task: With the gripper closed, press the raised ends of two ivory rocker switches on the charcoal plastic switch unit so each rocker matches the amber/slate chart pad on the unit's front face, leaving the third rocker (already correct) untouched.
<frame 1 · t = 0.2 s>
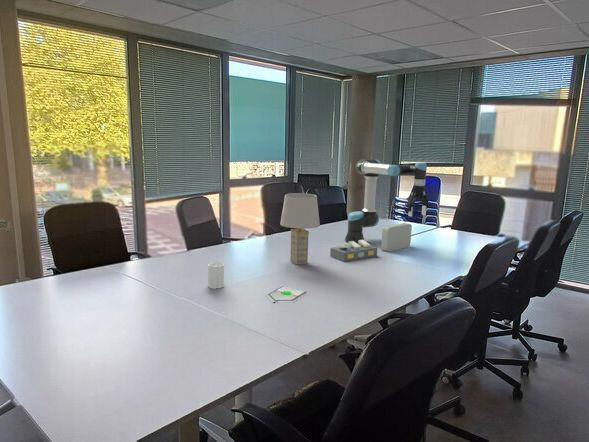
hand: (416, 215, 289), 28 cm above the table, fingers open, 13 cm apart
switch unit: (353, 256, 284), on the table
rounded white slab: (395, 248, 309), on the table
rocker c: (364, 243, 287), point 8 cm above the table, hinge at 15.0°
security device: (283, 298, 206), on the table
rocker b: (354, 244, 282), point 8 cm above the table, hinge at 15.0°
lamp: (298, 262, 266), on the table
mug: (217, 285, 219), on the table
rocker a: (344, 246, 278), point 8 cm above the table, hinge at -15.0°
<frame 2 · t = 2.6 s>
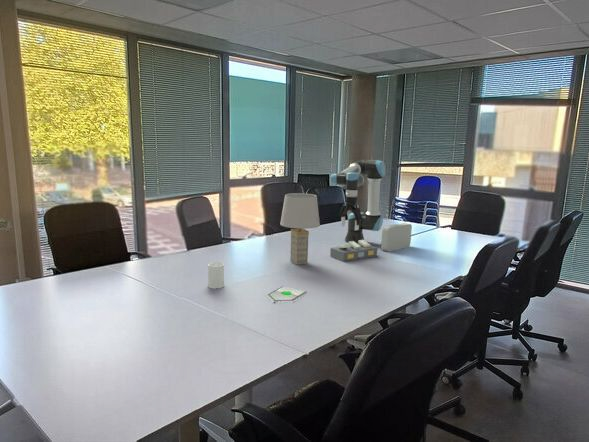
hand: (349, 228, 273), 21 cm above the table, fingers open, 13 cm apart
nothing on the table moved.
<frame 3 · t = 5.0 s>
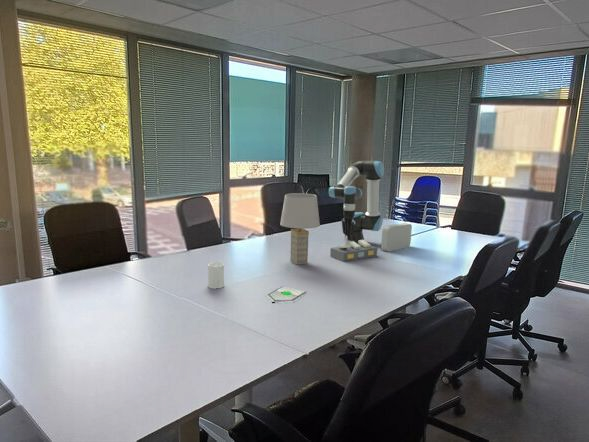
hand: (347, 244, 275), 10 cm above the table, fingers closed
rocker a: (344, 246, 278), point 8 cm above the table, hinge at -15.0°, touching gripper
everything else where it was.
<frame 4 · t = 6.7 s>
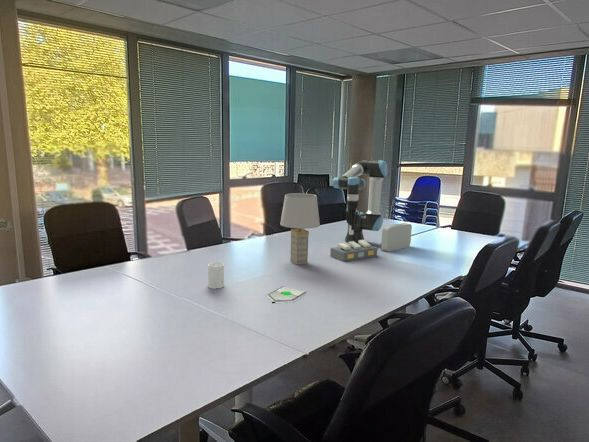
hand: (351, 234, 281), 15 cm above the table, fingers closed
rocker a: (344, 246, 278), point 8 cm above the table, hinge at 6.4°
everything else where it was.
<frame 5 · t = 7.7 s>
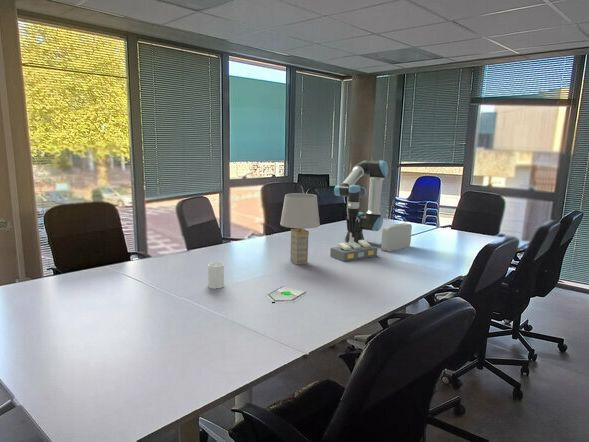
hand: (351, 241, 284), 10 cm above the table, fingers closed
rocker b: (354, 244, 282), point 8 cm above the table, hinge at 15.0°, touching gripper
rocker a: (344, 246, 278), point 8 cm above the table, hinge at 10.9°
everything else where it was.
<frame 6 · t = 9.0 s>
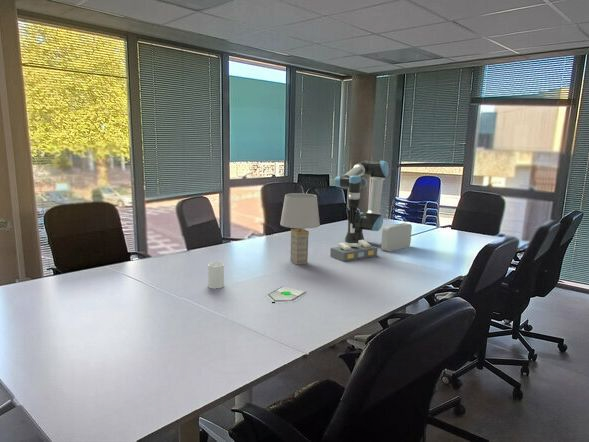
hand: (352, 232, 283), 16 cm above the table, fingers closed
rocker b: (354, 244, 282), point 8 cm above the table, hinge at -10.3°
rocker a: (344, 246, 278), point 8 cm above the table, hinge at 12.9°
everything else where it was.
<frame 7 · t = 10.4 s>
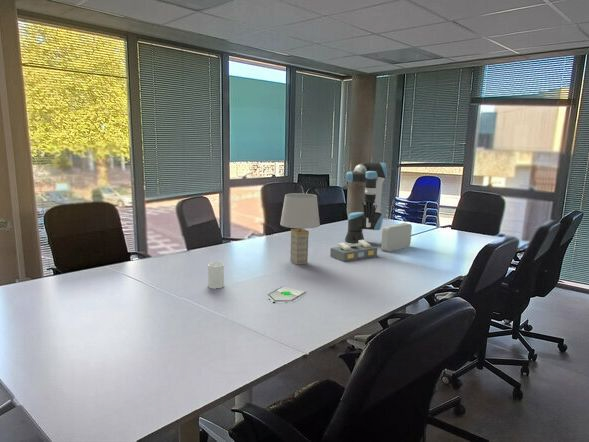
hand: (368, 226, 289), 19 cm above the table, fingers closed
rocker b: (354, 244, 282), point 8 cm above the table, hinge at -18.6°, touching switch unit
rocker a: (344, 246, 278), point 8 cm above the table, hinge at 13.5°
everything else where it was.
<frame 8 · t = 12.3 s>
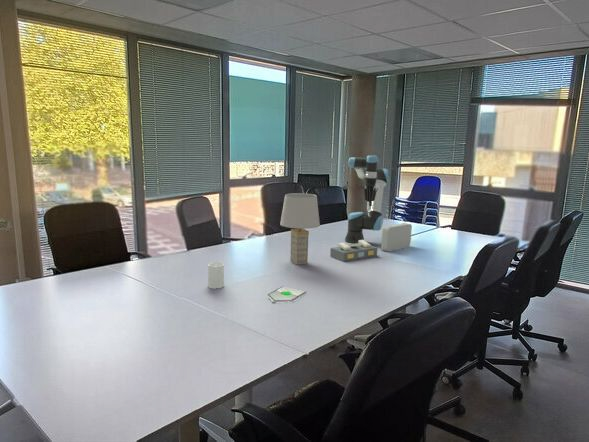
hand: (368, 210, 297), 29 cm above the table, fingers closed
rocker b: (354, 244, 282), point 8 cm above the table, hinge at -17.1°
everything else where it was.
at the end: rocker a at +14° (first picture: -15°); rocker b at -17° (first picture: +15°); rocker c at +15° (first picture: +15°) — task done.
